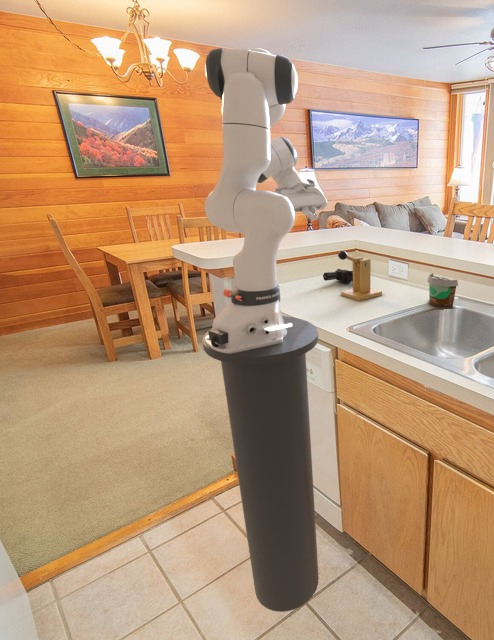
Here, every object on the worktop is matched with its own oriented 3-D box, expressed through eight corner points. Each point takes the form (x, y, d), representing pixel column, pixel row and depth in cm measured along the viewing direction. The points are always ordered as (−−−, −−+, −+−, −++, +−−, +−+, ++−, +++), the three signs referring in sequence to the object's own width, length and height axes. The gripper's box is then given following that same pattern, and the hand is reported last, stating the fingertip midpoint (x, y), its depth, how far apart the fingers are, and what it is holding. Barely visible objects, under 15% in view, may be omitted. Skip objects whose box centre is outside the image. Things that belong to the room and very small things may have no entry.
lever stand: (358, 301, 159) (358, 263, 153) (341, 295, 165) (340, 258, 159) (382, 294, 167) (382, 258, 161) (364, 289, 173) (364, 254, 167)
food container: (418, 302, 159) (420, 275, 155) (430, 299, 163) (432, 272, 159) (444, 311, 151) (446, 282, 147) (455, 307, 154) (458, 279, 150)
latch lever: (341, 258, 151) (343, 249, 151) (335, 257, 153) (337, 248, 153) (365, 269, 161) (368, 261, 161) (359, 268, 163) (362, 259, 163)
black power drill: (379, 272, 182) (354, 266, 191) (345, 275, 168) (319, 268, 177) (378, 285, 184) (353, 278, 193) (344, 289, 170) (319, 281, 179)
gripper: (275, 182, 146) (298, 215, 145) (317, 180, 161) (338, 210, 160) (267, 195, 150) (289, 227, 149) (309, 192, 165) (329, 222, 164)
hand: (315, 218), depth 155 cm, fingers closed
